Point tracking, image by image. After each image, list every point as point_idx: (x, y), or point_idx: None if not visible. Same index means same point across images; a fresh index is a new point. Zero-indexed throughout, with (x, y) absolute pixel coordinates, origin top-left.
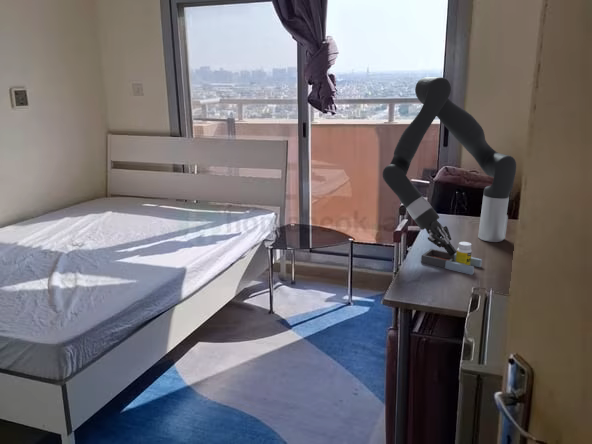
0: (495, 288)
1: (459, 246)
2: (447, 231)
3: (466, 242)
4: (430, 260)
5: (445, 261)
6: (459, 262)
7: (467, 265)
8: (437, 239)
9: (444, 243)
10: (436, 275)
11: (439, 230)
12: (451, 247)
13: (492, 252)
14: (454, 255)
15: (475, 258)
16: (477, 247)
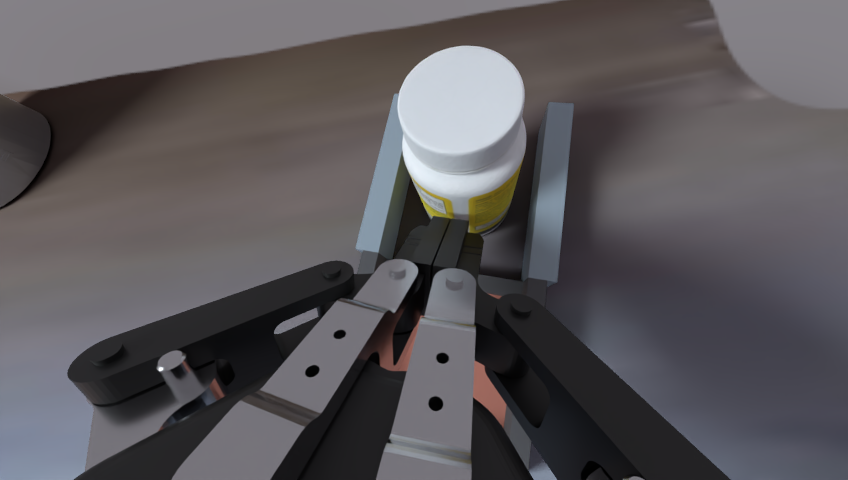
0: (683, 9)
1: (502, 151)
2: (218, 321)
3: (417, 93)
4: None
5: (545, 286)
6: (512, 195)
7: (553, 138)
8: (651, 419)
9: (538, 305)
10: (715, 317)
11: (469, 467)
12: (457, 245)
13: (188, 117)
14: (381, 252)
15: (395, 125)
16: (133, 189)
